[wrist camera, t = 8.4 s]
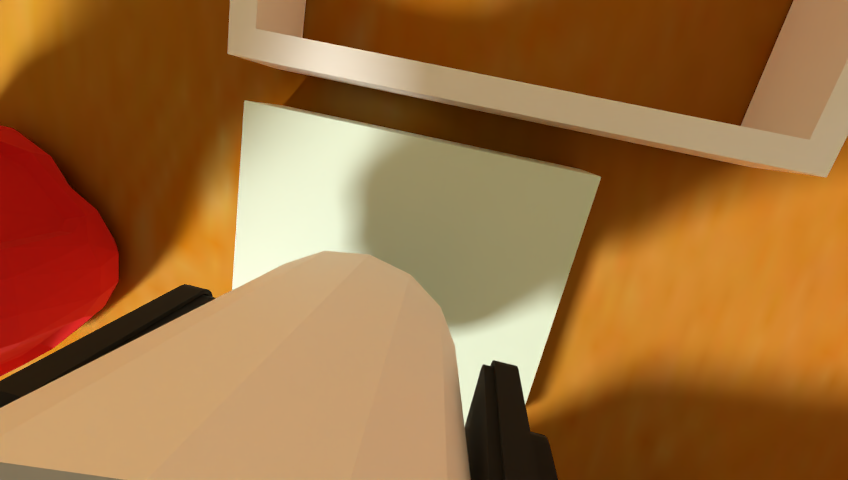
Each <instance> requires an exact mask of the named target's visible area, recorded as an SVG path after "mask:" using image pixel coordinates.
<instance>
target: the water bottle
mask: <svg viewBox="0 0 848 480" xmlns="http://www.w3.org/2000/svg"><path fill="white" fill-rule="evenodd" d="M118 282H119V252H118V249H117V245H116V242H115V240H114V238H113V236H112V235H111V233H110V231H109V230H108V228H107V226H106V224H105V223H104V221H103V219H102V218H101V216H100V214H99V212H98V211H97V210H96V209H95V208H94V207H93V206H92V205H91V204H89V203H88V202H87V201H86V200H85V199H84V198H82V197H81V196H80V195H79V194H78V193H77V192H75V191H74V190H73V189H72V188H71V187H70V185H69V184H68V182H67V181H66V179H65V177H64V176H63V174H62V173H61V171H60V170H59V168H58V166H57V165H56V163H55V162H54V160H53V158H52V157H51V156H50V155H49V154H47V153H46V152H45V151H43V150H42V149H41V148H39V147H38V146H37V145H35V144H34V143H32V142H31V141H30V140H28V139H27V138H26V137H24V136H23V135H22V134H20V133H19V132H18V131H16V130H15V129H14V128H10V127H5V126H1V125H0V376H2V375H4V374H6V373H8V372H10V371H12V370H14V369H16V368H18V367H20V366H22V365H24V364H26V363H27V362H29V361H31V360H33V359H35V358H36V357H38V356H40V355H42V354H44V353H46V352H47V351H49V350H51V349H53V348H54V347H55V346H57V345H58V344H59V343H61V342H62V341H63V340H64V339H66V338H67V337H68V336H69V335H71V334H72V333H73V332H74V331H76V330H77V329H78V328H79V327H81V326H82V325H83V324H84V323H85V322H87V321H88V320H89V319H90V318H91V317H93V316H94V315H95V314H96V313H97V312H99V311H100V310H101V309H102V308H103V307H105V305H106V303H107V301H108V299H109V298H110V296H111V294H112V292H113V290H114V289H115V287H116V285H117V283H118Z"/></svg>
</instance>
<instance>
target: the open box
mask: <svg viewBox="0 0 848 480" xmlns="http://www.w3.org/2000/svg"><path fill="white" fill-rule="evenodd" d="M305 6H306V0H230V12H229V32H228V52H227V54H230V55H233V56H237V57H240V58H243V59H246V60H250V61H253V62H256V63H259V64H263V65H266V66H269V67H272V68H276V69H279V70H284V71H289V72H294V73H299V74H303V75H308V76H313V77H318V78H323V79H328V80H332V81H337V82H342V83H347V84H352V85H357V86H361V87H366V88H371V89H376V90H381V91H385V92H390V93H395V94H400V95H405V96H410V97H414V98H419V99H424V100H429V101H434V102H439V103H443V104H448V105H453V106H458V107H463V108H467V109H472V110H477V111H482V112H487V113H492V114H496V115H501V116H506V117H511V118H516V119H520V120H525V121H530V122H535V123H540V124H545V125H549V126H554V127H559V128H564V129H569V130H574V131H578V132H583V133H588V134H593V135H598V136H602V137H607V138H612V139H617V140H622V141H627V142H631V143H636V144H641V145H646V146H651V147H655V148H660V149H665V150H670V151H675V152H680V153H684V154H689V155H694V156H699V157H704V158H709V159H713V160H718V161H723V162H728V163H733V164H737V165H742V166H747V167H753V168H760V169H768V170H775V171H783V172H790V173H798V174H805V175H812V176H820V177H827V176H828V174H829V172H830V170H831V168H832V166H833V164H834V162H835V160H836V158H837V156H838V154H839V152H840V150H841V148H842V146H843V144H844V142H845V140H846V138H847V136H848V0H793V2H792V5H791V7H790V10H789V12H788V14H787V17H786V19H785V21H784V24H783V26H782V29H781V31H780V33H779V36H778V38H777V40H776V43H775V45H774V48H773V50H772V52H771V55H770V57H769V59H768V62H767V64H766V67H765V69H764V71H763V74H762V76H761V78H760V81H759V83H758V86H757V88H756V90H755V93H754V95H753V97H752V100H751V102H750V105H749V107H748V109H747V112H746V114H745V117H744V119H743V121H742V124H741V126H738V125H733V124H728V123H723V122H718V121H713V120H708V119H703V118H698V117H693V116H688V115H683V114H678V113H673V112H668V111H663V110H658V109H653V108H648V107H643V106H638V105H633V104H628V103H623V102H618V101H613V100H608V99H603V98H598V97H593V96H588V95H584V94H579V93H574V92H569V91H564V90H559V89H554V88H549V87H544V86H539V85H534V84H529V83H524V82H519V81H514V80H509V79H504V78H499V77H494V76H489V75H484V74H479V73H474V72H469V71H464V70H459V69H454V68H449V67H444V66H439V65H434V64H429V63H424V62H419V61H414V60H409V59H404V58H399V57H394V56H389V55H384V54H379V53H374V52H369V51H364V50H360V49H355V48H350V47H345V46H340V45H335V44H330V43H325V42H320V41H315V40H310V39H305V38H302V36H303V26H304V16H305Z"/></svg>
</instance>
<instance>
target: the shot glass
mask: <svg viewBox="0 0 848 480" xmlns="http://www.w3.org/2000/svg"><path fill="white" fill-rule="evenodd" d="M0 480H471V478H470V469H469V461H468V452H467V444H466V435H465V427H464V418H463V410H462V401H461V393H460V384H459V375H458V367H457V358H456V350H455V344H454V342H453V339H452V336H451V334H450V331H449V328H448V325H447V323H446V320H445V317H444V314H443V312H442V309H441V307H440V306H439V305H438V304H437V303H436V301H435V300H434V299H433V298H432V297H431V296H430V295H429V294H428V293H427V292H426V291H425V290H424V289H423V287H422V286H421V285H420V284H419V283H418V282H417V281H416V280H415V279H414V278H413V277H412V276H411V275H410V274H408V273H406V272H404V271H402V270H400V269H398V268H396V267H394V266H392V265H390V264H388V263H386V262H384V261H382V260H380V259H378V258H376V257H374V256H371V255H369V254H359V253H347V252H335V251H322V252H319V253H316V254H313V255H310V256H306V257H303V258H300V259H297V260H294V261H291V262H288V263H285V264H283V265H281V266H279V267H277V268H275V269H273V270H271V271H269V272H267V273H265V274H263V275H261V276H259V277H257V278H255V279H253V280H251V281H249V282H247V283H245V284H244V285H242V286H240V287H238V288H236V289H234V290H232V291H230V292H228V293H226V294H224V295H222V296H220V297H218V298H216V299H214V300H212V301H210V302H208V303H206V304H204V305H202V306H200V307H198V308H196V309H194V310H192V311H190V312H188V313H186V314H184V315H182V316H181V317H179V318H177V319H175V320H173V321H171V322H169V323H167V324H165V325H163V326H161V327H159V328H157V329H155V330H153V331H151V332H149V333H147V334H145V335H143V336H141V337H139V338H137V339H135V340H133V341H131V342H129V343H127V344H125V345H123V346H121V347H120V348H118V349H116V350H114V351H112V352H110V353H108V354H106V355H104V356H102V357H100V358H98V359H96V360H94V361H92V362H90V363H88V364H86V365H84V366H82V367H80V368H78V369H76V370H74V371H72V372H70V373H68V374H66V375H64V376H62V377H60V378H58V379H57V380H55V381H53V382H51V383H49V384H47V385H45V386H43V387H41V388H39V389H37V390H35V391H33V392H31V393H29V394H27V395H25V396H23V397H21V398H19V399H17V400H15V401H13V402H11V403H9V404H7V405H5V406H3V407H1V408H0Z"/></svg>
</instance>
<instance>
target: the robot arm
mask: <svg viewBox="0 0 848 480" xmlns="http://www.w3.org/2000/svg"><path fill="white" fill-rule="evenodd" d="M214 299H215V298H214V297H212V293H211V292H210V291H209V290H207V289H203V288H199V287H195V286H191V285H185V284H184V285H181V286H179V287H177V288H175V289H173V290H172V291H170V292H168V293H166V294H164V295H162V296H160V297H158V298H156V299H155V300H153V301H151V302H149V303H147V304H145V305H143V306H141V307H139V308H137V309H136V310H134V311H132V312H130V313H128V314H126V315H124V316H122V317H120V318H119V319H117V320H115V321H113V322H111V323H109V324H107V325H105V326H103V327H101V328H100V329H98V330H96V331H94V332H92V333H90V334H88V335H86V336H84V337H83V338H81V339H79V340H77V341H75V342H73V343H71V344H69V345H67V346H66V347H64V348H62V349H60V350H58V351H56V352H54V353H52V354H50V355H48V356H47V357H45V358H43V359H41V360H39V361H37V362H35V363H33V364H31V365H30V366H28V367H26V368H24V369H22V370H20V371H18V372H16V373H14V374H13V375H11V376H9V377H7V378H5V379H3V380H1V381H0V408H1V407H3V406H5V405H7V404H9V403H11V402H13V401H15V400H17V399H19V398H21V397H23V396H25V395H27V394H29V393H31V392H33V391H35V390H37V389H39V388H41V387H43V386H45V385H47V384H49V383H51V382H53V381H55V380H57V379H58V378H60V377H62V376H64V375H66V374H68V373H70V372H72V371H74V370H76V369H78V368H80V367H82V366H84V365H86V364H88V363H90V362H92V361H94V360H96V359H98V358H100V357H102V356H104V355H106V354H108V353H110V352H112V351H114V350H116V349H118V348H120V347H121V346H123V345H125V344H127V343H129V342H131V341H133V340H135V339H137V338H139V337H141V336H143V335H145V334H147V333H149V332H151V331H153V330H155V329H157V328H159V327H161V326H163V325H165V324H167V323H169V322H171V321H173V320H175V319H177V318H179V317H181V316H182V315H184V314H186V313H188V312H190V311H192V310H194V309H196V308H198V307H200V306H202V305H204V304H206V303H208V302H210V301H212V300H214ZM465 435H466V444H467V452H468V461H469V469H470V478H471V480H558V478H557V474H556V469H555V465H554V461H553V457H552V453H551V449H550V445H549V442H548V439H547V437H546V436H545V435H541V434H537V433H534V432H530V428H529V422H528V417H527V412H526V407H525V401H524V396H523V391H522V385H521V380H520V375H519V369H518V366H515V365H511V364H507V363H503V362H499V361H495V360H493V361H492V363H491V365H490V366H489V365H485V364H483V365H482V367H481V370H480V374H479V377H478V381H477V385H476V388H475V392H474V395H473V399H472V402H471V406H470V409H469V413H468V416H467V420H466V423H465Z"/></svg>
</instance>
